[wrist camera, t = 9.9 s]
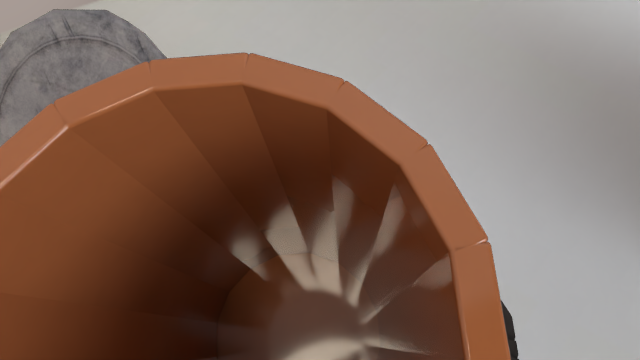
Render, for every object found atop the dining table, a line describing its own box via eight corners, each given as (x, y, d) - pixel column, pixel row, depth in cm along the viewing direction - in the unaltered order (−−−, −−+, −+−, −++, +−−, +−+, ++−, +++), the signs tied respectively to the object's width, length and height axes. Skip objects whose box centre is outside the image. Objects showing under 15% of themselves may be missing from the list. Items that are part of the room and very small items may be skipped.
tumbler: (381, 239, 16) (455, 34, 5) (400, 431, 14) (575, 714, 3) (210, 251, 16) (-52, 73, 5) (207, 442, 14) (-202, 744, 3)
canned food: (250, 189, 29) (302, 190, 19) (102, 302, 26) (77, 368, 16) (129, 25, 26) (120, -64, 17) (-48, 129, 24) (-177, 90, 14)
